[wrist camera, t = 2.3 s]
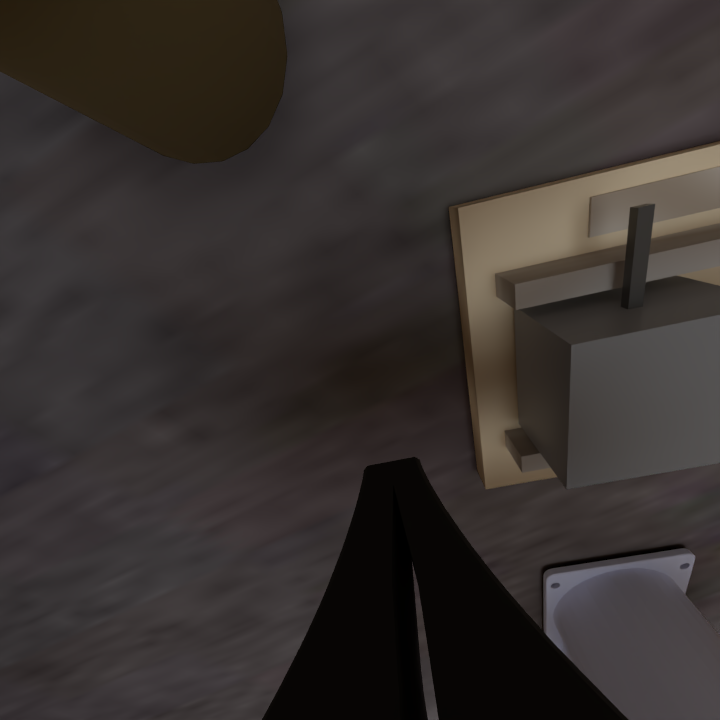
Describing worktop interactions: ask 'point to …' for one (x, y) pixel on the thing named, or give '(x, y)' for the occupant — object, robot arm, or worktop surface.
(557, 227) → the gauge board
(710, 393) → the gauge carriage
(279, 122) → the worktop surface
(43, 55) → the cork
